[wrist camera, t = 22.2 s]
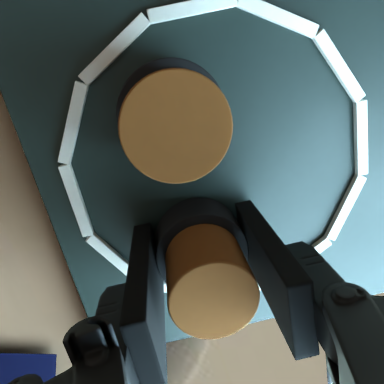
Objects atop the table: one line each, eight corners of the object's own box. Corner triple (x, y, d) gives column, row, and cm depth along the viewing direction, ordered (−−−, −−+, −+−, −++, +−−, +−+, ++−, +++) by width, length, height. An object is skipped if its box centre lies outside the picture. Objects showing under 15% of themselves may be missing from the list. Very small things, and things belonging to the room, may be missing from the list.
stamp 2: (231, 188, 15) (264, 238, 11) (243, 262, 17) (277, 335, 12) (146, 207, 15) (142, 266, 10) (165, 279, 16) (169, 360, 12)
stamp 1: (208, 50, 13) (235, 36, 8) (224, 147, 15) (256, 181, 10) (110, 71, 13) (83, 68, 8) (135, 166, 14) (124, 210, 10)
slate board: (376, -99, 13) (399, -117, 12) (377, 281, 19) (392, 295, 18) (-30, -17, 13) (-50, -27, 11) (105, 343, 19) (101, 362, 17)
